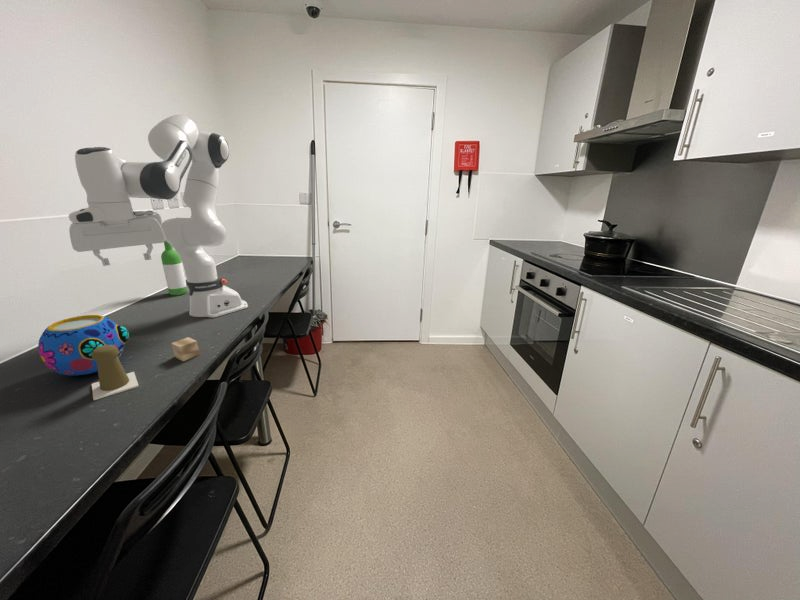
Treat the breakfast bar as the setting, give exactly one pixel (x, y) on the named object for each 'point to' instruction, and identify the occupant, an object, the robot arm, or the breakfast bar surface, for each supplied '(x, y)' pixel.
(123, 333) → the ceramic pot
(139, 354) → the breakfast bar surface
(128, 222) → the robot arm
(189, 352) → the oak cube
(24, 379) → the breakfast bar surface
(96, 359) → the cork
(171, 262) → the wine bottle
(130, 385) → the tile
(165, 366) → the breakfast bar surface
